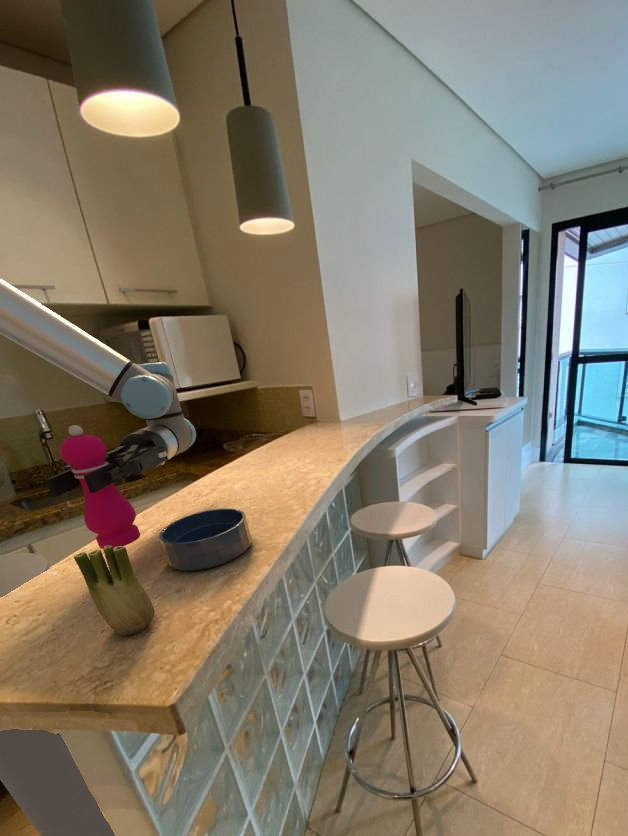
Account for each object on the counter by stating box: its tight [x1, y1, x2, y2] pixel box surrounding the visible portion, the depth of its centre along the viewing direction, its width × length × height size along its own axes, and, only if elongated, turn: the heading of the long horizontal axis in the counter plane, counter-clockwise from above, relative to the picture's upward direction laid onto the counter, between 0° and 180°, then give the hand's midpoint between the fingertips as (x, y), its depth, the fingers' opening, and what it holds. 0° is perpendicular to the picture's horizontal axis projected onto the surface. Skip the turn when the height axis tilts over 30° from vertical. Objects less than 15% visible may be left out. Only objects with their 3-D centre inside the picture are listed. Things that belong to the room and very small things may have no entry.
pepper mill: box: [59, 424, 141, 550], centre depth 66 cm, size 7×7×20 cm
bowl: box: [158, 507, 253, 571], centre depth 72 cm, size 14×14×6 cm
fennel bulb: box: [73, 545, 156, 636], centre depth 52 cm, size 6×5×12 cm
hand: (70, 486), depth 60 cm, fingers closed on pepper mill, 5 cm apart
